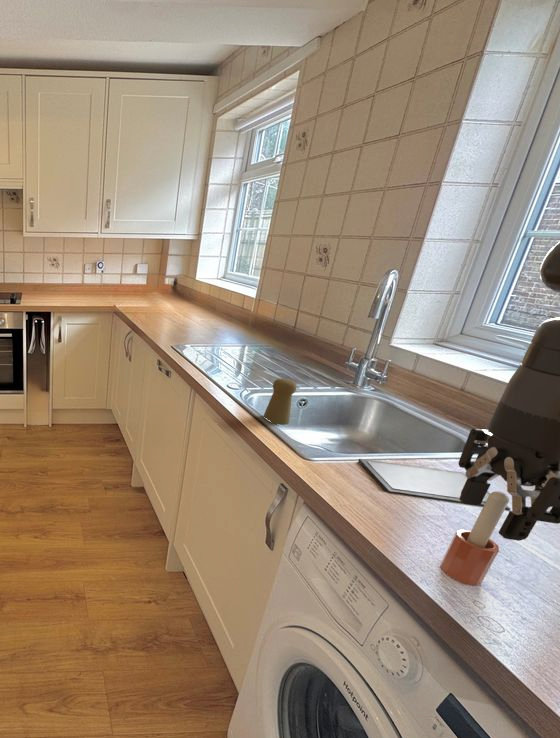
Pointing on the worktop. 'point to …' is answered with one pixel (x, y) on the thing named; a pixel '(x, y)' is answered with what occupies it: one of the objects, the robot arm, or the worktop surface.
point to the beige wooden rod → (488, 519)
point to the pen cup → (468, 559)
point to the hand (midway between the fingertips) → (488, 519)
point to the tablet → (418, 481)
